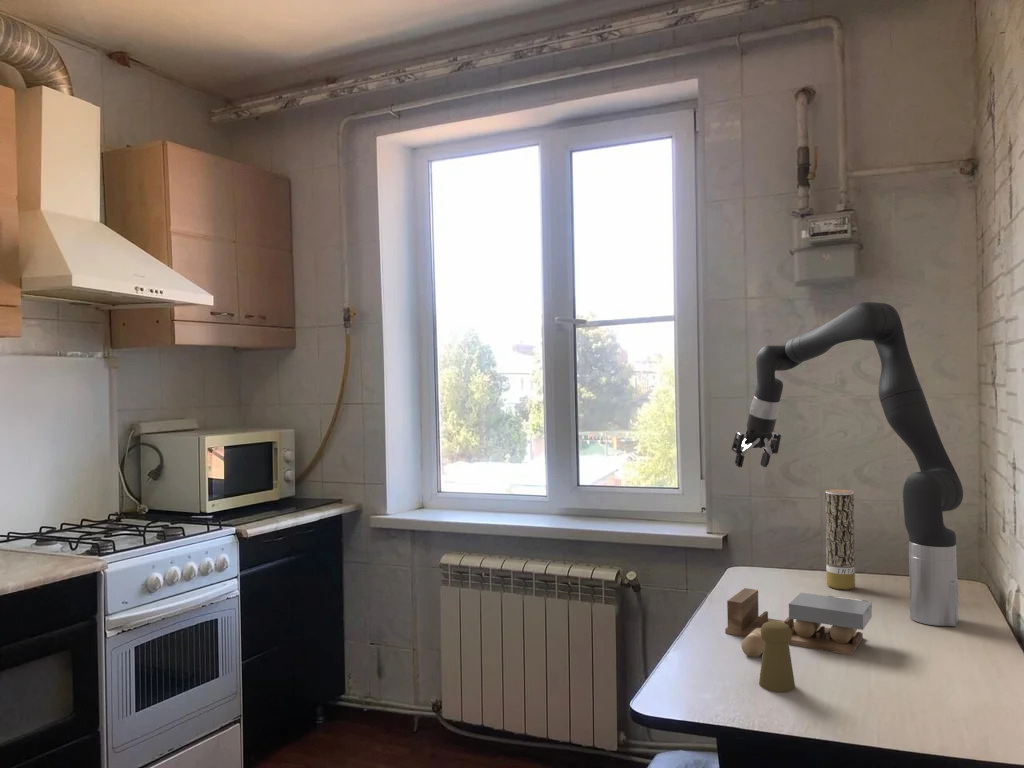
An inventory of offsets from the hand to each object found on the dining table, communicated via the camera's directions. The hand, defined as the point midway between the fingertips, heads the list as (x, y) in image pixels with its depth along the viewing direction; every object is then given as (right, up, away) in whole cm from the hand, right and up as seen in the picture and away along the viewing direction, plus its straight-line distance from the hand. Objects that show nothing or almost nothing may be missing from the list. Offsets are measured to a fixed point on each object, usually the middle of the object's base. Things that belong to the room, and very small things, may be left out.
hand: (751, 466), depth 220 cm
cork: (-23, -29, -86) cm, 94 cm away
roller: (-21, -29, -69) cm, 78 cm away
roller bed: (-10, -29, -60) cm, 67 cm away
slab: (-4, -24, -64) cm, 68 cm away
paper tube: (+16, -29, -22) cm, 40 cm away
